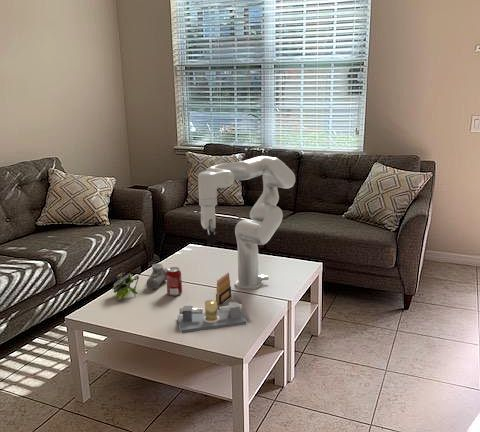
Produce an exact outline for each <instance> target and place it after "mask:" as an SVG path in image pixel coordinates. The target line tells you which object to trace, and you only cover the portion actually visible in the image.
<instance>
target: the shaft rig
mask: <svg viewBox="0 0 480 432" xmlns="http://www.w3.org/2000/svg"><path fill="white" fill-rule="evenodd" d="M218 307H219V310H217V319H216V320H214V321H208V320H206V317H205V312H203V313H202V314H193V319H192V322H183V315H178V316H177V322H178V325H179V331H180V334H188V333H189V334H190V333H196V332H204V331H209V330H211V331H212V330H218V329H224V328H225V329H226V328H231V327H233V328H234V327H238V326H239V327H240V326H246V325H247V320H246V318H245V316H244V315H243V312H242V310H243V304H241V303H238V301H236V302H229V303H228V305H224V306H222V305H221V306H218Z"/></svg>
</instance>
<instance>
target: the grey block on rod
mask: <svg viewBox="0 0 480 432" xmlns="http://www.w3.org/2000/svg"><path fill="white" fill-rule="evenodd" d="M203 311H204V310H203V307H194V306H193V305H183V307H180V308H179V315H182V316H183V322H192V319H193V314H202V313H204V312H203Z"/></svg>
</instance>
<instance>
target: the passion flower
mask: <svg viewBox="0 0 480 432" xmlns="http://www.w3.org/2000/svg"><path fill="white" fill-rule="evenodd" d="M139 278H140V276H139V275H138V274H136V275H135V276H134V275H133V273H128V274H126V273H125V272H122V273H120V274H117V275H116V279H117V281H115V282H114V284H113V287H112V288H111V290H113V293H114V294H115V293H116V294H115V301H121V300H122V299H126V297H128V295H130V292H131V293H132V294H134V296H136V295H139V294H138V292H137V291H136V290H137V284H138V281H139ZM134 281H135V282H136V283H135V286H134V287H131V284H132V283H133V282H134Z"/></svg>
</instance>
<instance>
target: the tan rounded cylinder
mask: <svg viewBox="0 0 480 432" xmlns="http://www.w3.org/2000/svg"><path fill="white" fill-rule="evenodd" d="M204 309H205V310H204V313H205V317H206V320H208V321H214V320H216V319H217V311H218V306H217V301H216V299H208V300H205V302H204Z"/></svg>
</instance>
